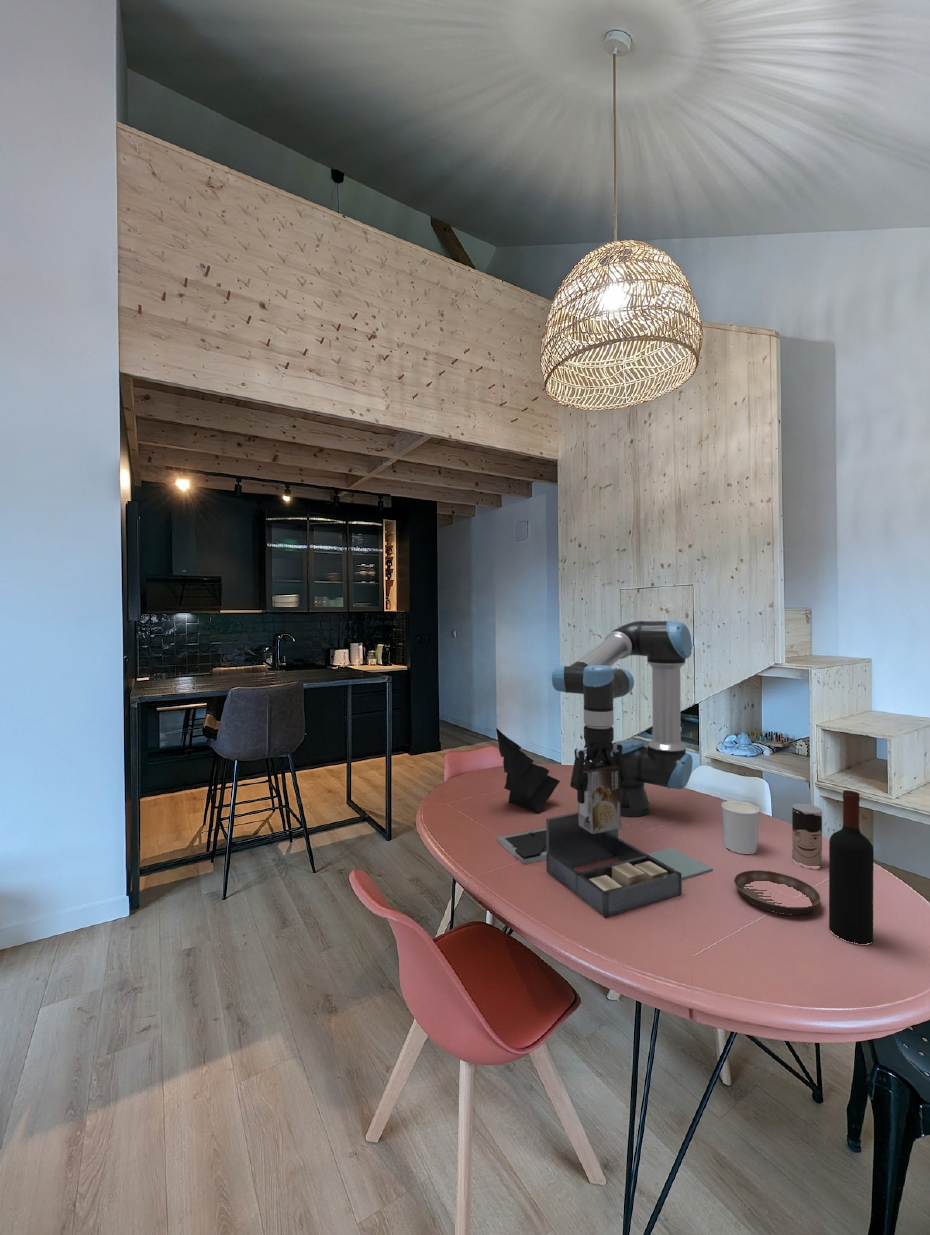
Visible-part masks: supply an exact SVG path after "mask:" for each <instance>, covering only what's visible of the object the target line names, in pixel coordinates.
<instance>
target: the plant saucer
mask: <svg viewBox="0 0 930 1235" xmlns="http://www.w3.org/2000/svg"><path fill="white" fill-rule="evenodd" d="M754 881H770V882H773V883H777V884H785V885H787V886H788V887H793V888H794V889H796V890H797V891H800V892H802V894H804V895H806V897H809V899H810V901H811V903H812V906H808V907H786V906H780V905H775V903H777V902H773V903H772V902H767V901H774V900H772V899H763V898H759V897H771V896H763V895H758V894H764V893H763V892H754V891H767V890H757V889H749V888H746V889H745V888H744V887H748V886H745V885H746V884H750V883H751V882H754ZM733 883H734V886H735V887H736V888H737V890H738V892H739V893H740V894H741V896H743V897H744V899H745V900H747V901H748V902H749V903H751V904H752V905H754V906H755V905H756V906H755V907H757V906H758V908H760V909H762V908H763V909H762V910H764V909H766V910H765V911H767V910H769V911H768V912H770V911H774V912H777V913H776V914H778V913H782V914H781V915H784V914H792V915H791V916H799V915H798V914H801V915H805V914H807V912H808V913H809V912H811V911H813V910H814V909H815V908H816V907H817V906H818V905H819V903H820V902H821V896H820V893H819V892H818V891H817V889H815V888H814V886H811V885H810V884H808V883H807V882H806V881H804V880H801V879H799V878H796V877H793V876H791V875H787V874H784V873H779V872H775V871H769V870H761V869H760V870H759V869H756V870H755V869H754V870H753V869H752V870H745V871H741V872H739V873H737V874H736V875H735V876H734V878H733ZM749 887H753V886H749ZM770 894H771V893H770ZM777 904H782V903H777ZM774 912H773V913H774ZM783 913H784V914H783ZM804 913H805V914H804Z"/></svg>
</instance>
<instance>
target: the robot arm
mask: <svg viewBox="0 0 930 1235" xmlns="http://www.w3.org/2000/svg"><path fill="white" fill-rule="evenodd" d="M692 649H693V644H692V636H691V633H690V630H689V627H688V626H687V625H686V624H685V623H683V622H681V621H672V620H668V621H667V620H666V621H665V620H664V621H662V620H658V621H657V620H656V621H655V620H654V621H651V620H637V621H632V622H628V623H626V624H623V625H622V626H619V627H617V628H615V629H613V630H612V631H611V632H609V633H608V634H606V636H605V638H604V640H603V641H602V642H601V643H600V644H598V645H597V646H595V647H593V649H591V650H589V651H588V652H587V653H585V655H583V656H582V657H580V658H579V659H577V660H576V661H575V662H573V663H571V665H569V666H567V665H558V666H556V667H555V668H554V670H553V671H552V673H551V674H552V675H551V684H552V687H553V688H554V690H555V691H557V692H562V693H566V694H568V693H569V694H579V695H583V724H584V726H583V740H584V747H583V748H580V749H579V748H575V749H574V751H573V752H574V763H573V768H572V773H571V778H570V783H569V784H570V785H569V786H570V787H571V788H572V789H574V790H576V792H577V794H576V795H577V796H576V800H577V803H578V802H579V804H580V814H581V815H583V816H585V817H589V815H588V791H587V790H586V787H587V785H588V774H587V773H585V772H583V767H584V768H586V769H589V770H591V769H594V767H595V766H596V765H597V763H599V762H604V763H605V764H607V765H610V766H611V765H616V766H619V767H620V796H621V817H631V818H632V817H635V818H636V817H642V816H643V817H644V816H647V815H648V814H649V813H650V812H651V806H650V805H651V804H650V802H649V799H648V795H647V792H646V789H645V788H646V787H645V784H649V785H653V786H658V787H664V788H667V789H675V790H682V789H684V788H685V787H686V786H687V785H688V783H689V781H690V778H691V775H692V770H693V764H694V763H693V762H694V761H693V760H694V759H693V756H692V755H691V754H690V753H687V751H686V750H687V747H686V745H685V744H684V743H683V742H682V741H681V740H682V738H681V733H682V732H681V727H682V726H681V722H682V721H681V668H682V667H683V666H685V665H686V659H689V658H690V657H691V655H692ZM629 656H630V657H631V656H640V657H646V659H647V663H648V665H649V666H650V667H651V669H652V670H651V673H652V676H651V678H652V682H651V683H652V686H651V687H652V689H651V690H652V691H651V692H652V693H651V694H652V695H651V696H652V698H651V699H652V740H651V741H650V742H648V744H647V746H646V744H645V743H644V741H642V740H639V739H626V740H625V739H624V740H618V741H614V739H615V738H614V736H615V734H614V727H613V725H614V723H615V722H614V699H617V698H621V697H624V696H626V695H628V694H630V693H631V692H632V690H633V689H634V686H635V685H634V684H635V680H634V676H633V675H632V673H631V672H630V671H629V670H627V669H625V668H622V667H620V668H613V667H612V666H613V665H614V664H616V662H619V660H621V659H626V658H628V657H629Z"/></svg>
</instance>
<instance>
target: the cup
mask: <svg viewBox="0 0 930 1235" xmlns="http://www.w3.org/2000/svg"><path fill="white" fill-rule="evenodd" d="M791 807H792V808H791V809H792V813H791V814H792V816H791V817H792V819H791V820H792V824H791V828H792V829H791V834H792V836H791V838H792V839H791V840H792V842H791V843H792V844H791V848H792V850H791V852H792V853H791V854H792V855H791V858H793V859H794V860H795V861H796V862H798V863H802V864H804V865H807V866H821V865H822V866H823V810H822V808H820V807H819V806H815V805H812V804H808V803H794V804H792V806H791Z"/></svg>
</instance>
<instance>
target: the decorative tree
mask: <svg viewBox="0 0 930 1235" xmlns="http://www.w3.org/2000/svg"><path fill="white" fill-rule="evenodd" d="M495 730H496V736H497V737H496V738H497V743H498V750H499V755H500V757H501V758H503V759H502V760H503V762H502V764H503V772H504V773H506V777H505V785H504V789H505V790H507V791H509V796H508V802H509V804H511V803H512V805H515V804H516V805H515V806H517V807H519V808H522V809H523V808H524V809H523V810H526V809H527V811H529V812H531V811H532V813H534V812H535V814H538V815H539V814H540V812H541V811H542V809H543V807H544V806H545V804H547V802H548V801H549V798H551V796H552V795H553V792H554V791H555V790H556V788H557V787H558V785H559V784H560V783H561V780H559V779H557V778H555V777H552V776H550V775H548V774H549V772H550V770H549V769H548V768H546V767H544V766H541V765H537V764H535V763H533V762H534V761H535V760H533V759H532V758H530V757H529V756H528V755H527V754H526V753H524V751H522V750H521V749H523V748H522V746H520V745H519V744H518V743H516V742H514V740H512V739H510V738H509V737H508V736H506V735H505V734H504V733H502V731H500V730H499V728H497V727H496V729H495Z"/></svg>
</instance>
